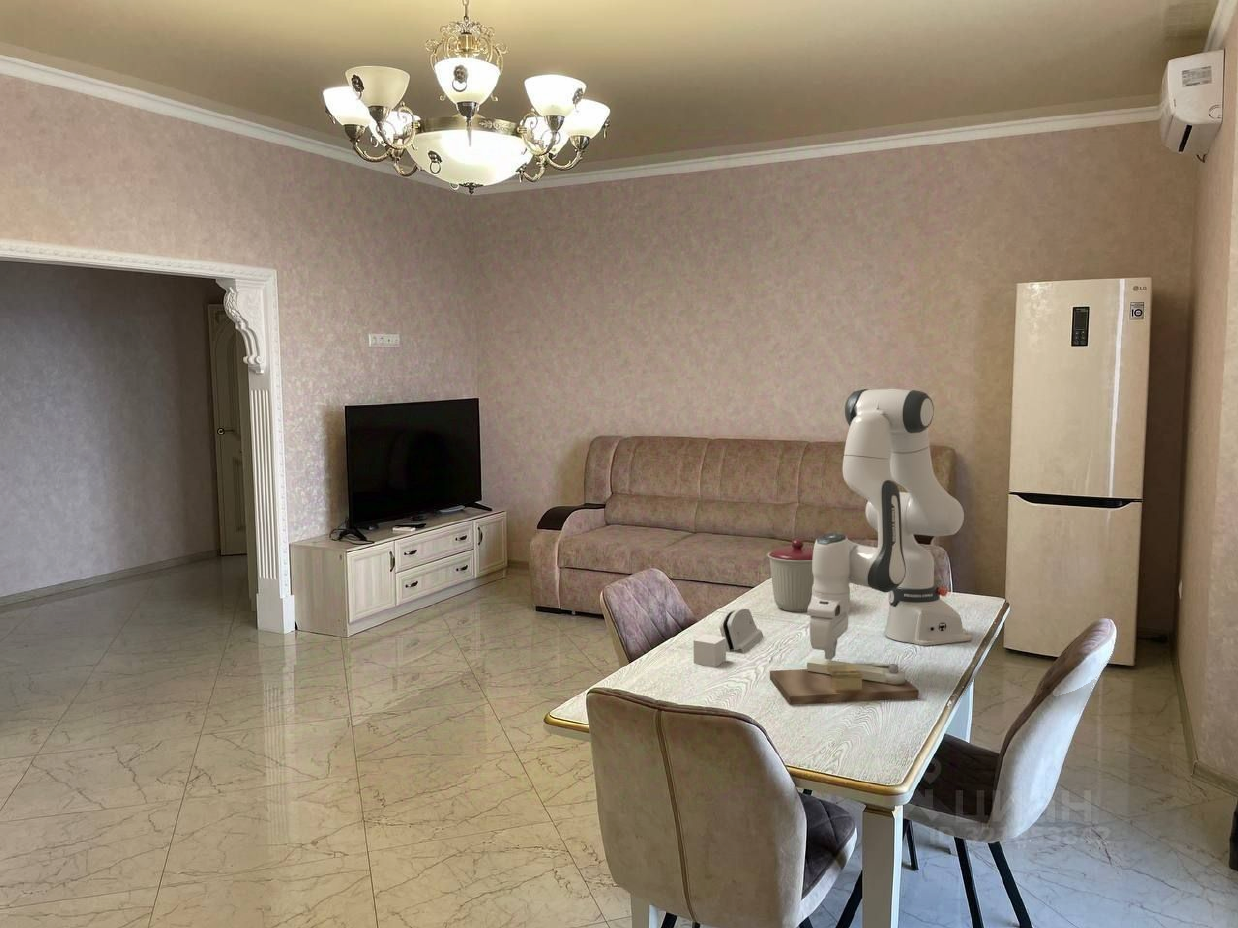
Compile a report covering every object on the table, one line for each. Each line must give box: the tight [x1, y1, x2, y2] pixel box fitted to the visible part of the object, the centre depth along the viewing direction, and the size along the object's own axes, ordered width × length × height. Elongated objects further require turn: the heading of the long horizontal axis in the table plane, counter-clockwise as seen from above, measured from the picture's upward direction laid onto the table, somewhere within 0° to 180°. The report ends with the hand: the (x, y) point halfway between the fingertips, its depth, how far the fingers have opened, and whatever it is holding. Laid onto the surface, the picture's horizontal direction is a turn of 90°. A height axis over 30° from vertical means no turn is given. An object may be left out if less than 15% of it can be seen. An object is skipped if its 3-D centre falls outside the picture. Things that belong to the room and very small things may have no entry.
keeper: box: [827, 665, 862, 692], centre depth 205 cm, size 6×6×4 cm
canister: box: [766, 538, 814, 613], centre depth 279 cm, size 18×18×21 cm
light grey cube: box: [693, 633, 727, 668], centre depth 230 cm, size 6×6×6 cm
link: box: [806, 657, 906, 685], centre depth 212 cm, size 22×5×4 cm, turn 60°
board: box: [769, 664, 920, 706], centre depth 210 cm, size 29×17×2 cm, turn 95°
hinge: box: [719, 608, 765, 654], centre depth 245 cm, size 17×5×10 cm, turn 153°
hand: (830, 657), depth 222 cm, fingers closed
